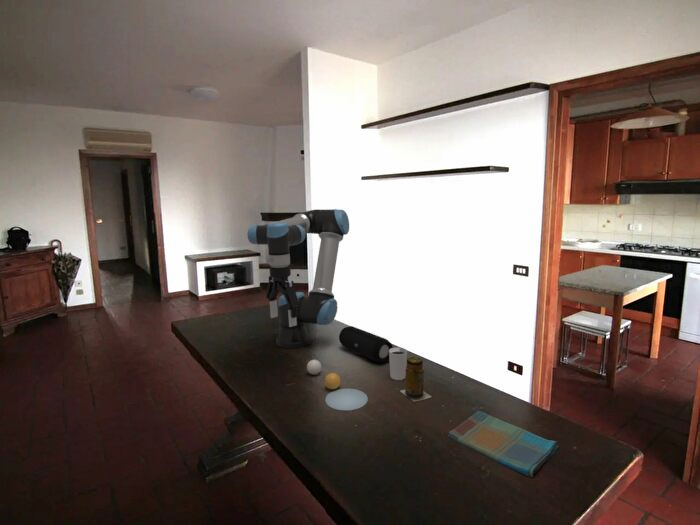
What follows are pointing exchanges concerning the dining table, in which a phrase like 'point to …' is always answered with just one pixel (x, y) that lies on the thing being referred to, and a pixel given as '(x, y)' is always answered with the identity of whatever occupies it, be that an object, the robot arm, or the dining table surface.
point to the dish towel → (504, 443)
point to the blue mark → (346, 399)
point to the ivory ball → (314, 367)
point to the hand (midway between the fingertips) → (283, 321)
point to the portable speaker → (365, 344)
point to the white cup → (398, 363)
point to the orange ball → (332, 381)
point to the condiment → (415, 380)
